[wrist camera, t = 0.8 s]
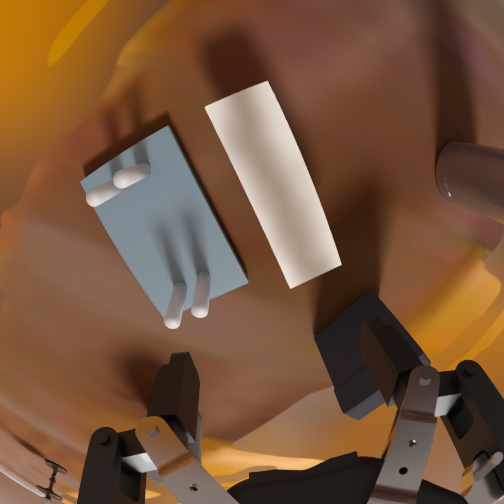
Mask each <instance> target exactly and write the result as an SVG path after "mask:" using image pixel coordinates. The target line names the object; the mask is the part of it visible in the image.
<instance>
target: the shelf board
mask: <svg viewBox="0 0 504 504" xmlns="http://www.w3.org/2000/svg"><path fill="white" fill-rule="evenodd" d="M205 109H206V111H207V113H208V115H209V117H210V119H211V121H212V123H213V125H214V127H215V130H216V132H217V134H218V136H219V138H220V140H221V142H222V144H223V146H224V148H225V150H226V152H227V154H228V156H229V158H230V160H231V162H232V164H233V167H234V169H235V171H236V173H237V175H238V177H239V179H240V181H241V183H242V185H243V187H244V190H245V192H246V194H247V196H248V198H249V200H250V202H251V204H252V207H253V209H254V211H255V213H256V215H257V217H258V219H259V221H260V224H261V226H262V228H263V230H264V232H265V234H266V236H267V239H268V241H269V243H270V245H271V247H272V249H273V252H274V254H275V256H276V258H277V260H278V263H279V265H280V267H281V269H282V271H283V274H284V276H285V278H286V280H287V282H288V285H289V287H290V289H291V288H293V287H295V286H297V285H299V284H302V283H304V282H306V281H308V280H310V279H312V278H315V277H317V276H319V275H321V274H323V273H325V272H327V271H330V270H332V269H334V268H336V267H338V266H340V265H342V264H341V261H340V258H339V255H338V252H337V249H336V246H335V243H334V240H333V237H332V234H331V231H330V228H329V225H328V222H327V220H326V217H325V214H324V211H323V209H322V206H321V203H320V201H319V198H318V195H317V193H316V190H315V187H314V185H313V182H312V180H311V177H310V175H309V172H308V170H307V167H306V165H305V162H304V160H303V157H302V155H301V153H300V150H299V148H298V146H297V143H296V141H295V139H294V136H293V134H292V132H291V130H290V127H289V125H288V123H287V121H286V118H285V116H284V114H283V112H282V110H281V108H280V105H279V103H278V101H277V99H276V97H275V95H274V93H273V91H272V89H271V87H270V85H269V83H268V81H266V82H263V83H260V84H258V85H255V86H252V87H250V88H247V89H245V90H242V91H240V92H237V93H235V94H233V95H230V96H228V97H226V98H223V99H221V100H219V101H217V102H215V103H212V104H210V105H208V106H206V107H205Z"/></svg>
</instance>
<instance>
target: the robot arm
mask: <svg viewBox="0 0 504 504" xmlns="http://www.w3.org/2000/svg"><path fill="white" fill-rule="evenodd" d="M436 179H437V184H438V188H439V190H440V192H441V193H442V195H443V196H444V197H445V198H446V199H447V200H449V201H452V202H454V203H457V204H459V205H461V206H464V207H466V208H468V209H471V210H473V211H475V212H477V213H480V214H482V215H484V216H486V217H489V218H491V219H493V220H495V221H497V222H499V223H501V224H503V225H504V149H500V148H495V147H489V146H484V145H478V144H473V143H466V142H459V141H452V142H449V143H447V144H446V145H445V146H444V147H443V148H442V150H441V152H440V154H439V156H438V160H437V165H436ZM360 352H361V355H362V358H363V360H364V361H365V363H366V365H367V367H368V369H369V371H370V373H371V375H372V377H373V379H374V381H375V383H376V384H377V386H378V388H379V390H380V392H381V394H382V396H383V398H384V400H385V402H386V404H387V406H388V407H389V406H391V405H394V404H396V406H397V408H398V409H397V412H396V415H395V418H394V421H393V425H392V427H391V430H390V433H389V436H388V439H387V442H386V444H385V447H384V449H383V451H382V454H381V456H380V458H374V457H363V456H361V457H358V455H357V452H356V451H355V452H352V453H348V454H345V455H341V456H338V457H334V458H330V459H328V460H326V461H324V462H322V463H320V464H318V465H316V466H314V467H311V468H309V469H307V470H278V469H275V470H268V471H260V472H251V473H249V479H246V480H244V481H241V482H239V483H237V484H236V485H234V486H232V487H231V488H230V489H228V490H227V491H225V490H224V489H223V488H222V487H221V485H220V484H219V483H217V481H216V480H215V479H214V478H213V477H212V476H211V475H210V474H209V473H208V472H207V471H206V470H205V469H204V468H203V466H202V465H201V464H200V463H199V462H198V461H197V460H196V459H195V457H194V456H193V455H192V454H191V453H190V452H189V451H188V450H187V446H188V443H196V428H197V414H198V401H199V389H200V381H199V376H198V373H197V370H196V368H195V365H194V363H193V360H192V358H191V356H190V353H189V352H180V353H172V355H171V359H170V363H169V364H167V365H163V366H162V367H161V369H160V370H159V371H158V373H157V376H156V380H155V384H154V388H153V389H154V391H153V392H152V397H151V401H150V405H149V410H148V414H147V417H146V418H144V419H142V420H141V421H140V422H139V423H138V425H137V426H136V428H135V429H132V430H128V431H124V432H119V433H117V432H116V431H115V430H114V429H113V428H110V427H102V428H99V429H97V430H96V431H95V432H94V433H93V434H92V436H91V439H90V443H89V447H88V451H87V456H86V460H85V464H84V469H83V474H82V479H81V484H80V489H79V495H78V500H77V504H145V488H146V475H147V471H152V470H156V469H158V471H159V472H158V474H159V475H160V477H161V478H162V480H163V481H164V483H165V484H166V485H167V487H168V488H169V489H170V491H171V492H172V493H173V495H174V496H175V497H176V498H177V500H178V501H179V502H180V503H181V504H495V503H496V502H498V501H500V500H501V499H503V498H504V399H503V398H502V396H501V395H500V393H499V392H498V390H497V389H496V387H495V386H494V384H493V383H492V382H491V380H490V379H489V377H488V376H487V374H486V373H485V372H484V370H483V369H482V368H481V366H480V365H479V364H478V363H476V362H475V361H472V360H464V361H462V362H460V363H459V364H458V365H457V367H456V370H451V371H444V372H438V371H437V370H436V369H435V368H433V367H431V366H428V365H424V364H423V363H422V362H421V360H420V359H419V358H418V356H417V355H416V353H415V352H414V351H413V349H412V348H411V346H410V345H409V344H408V342H407V341H406V340H405V338H403V336H402V334H401V333H400V332H399V330H398V329H396V328H395V327H393V326H391V325H390V324H389V325H386V326H385V325H384V324H383V322H382V321H381V320H380V318H379V317H375V318H371V319H367V320H364V321H362V325H361V336H360ZM436 416H440V417H441V419H442V421H443V423H444V425H445V427H446V429H447V431H448V433H449V435H450V437H451V440H452V442H453V444H454V446H455V448H456V450H457V452H458V455H459V457H460V459H461V461H462V464H463V466H464V468H465V470H464V472H463V473H462V476H461V488H462V491H461V495H460V494H458V493H456V492H453V491H450V490H448V489H445V488H443V487H440V486H438V485H436V484H433V483H431V482H429V481H426V480H424V479H422V477H423V474H424V471H425V468H426V464H427V461H428V457H429V454H430V450H431V446H432V441H433V437H434V432H435V428H436V423H437V417H436Z"/></svg>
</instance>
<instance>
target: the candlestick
mask: <svg viewBox="0 0 504 504" xmlns="http://www.w3.org/2000/svg"><path fill="white" fill-rule="evenodd" d="M46 464H47V465H48V466H49V467H51V468H52V469H53V475H52V474H51V476H52V477H51V478H50V479H49V480H50V481H51V482H50V485H49V488H43V487H41V486H39V485H36V488H37V489H38V490H40V491H41V492H43V493H45V494H46V497H44V498H45V502H44V504H49V503H50V501H51V497H53V498H55V499H57V500H60V501H62V499H63V498H62V497H60V496H59V495H57V494H55V493H54V492H53V490H52V488H53V484H54V483H56V481H55V478H57V477H56V473H57V472H60V473H63V474H67V471H66V470H65V469H64V468H63V467H61V466H60V465H58V464H56V463H54V462H51V461H46Z"/></svg>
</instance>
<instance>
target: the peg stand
mask: <svg viewBox="0 0 504 504" xmlns="http://www.w3.org/2000/svg"><path fill="white" fill-rule="evenodd" d="M81 184H82V186H83V188H84V190H85V192H86V194H87V195H86V200H87V203H88V204H89V205H90V206H92V207H94V209H95V211H96V213H97V215H98V216H99V218H100V220H101V222H102V224H103V225H104V227H105V229H106V231H107V232H108V234H109V236H110V237H111V239H112V241H113V242H114V244H115V246H116V247H117V249H118V251H119V252H120V254H121V256H122V257H123V259H124V260H125V262H126V263H127V265H128V267H129V268H130V270H131V271H132V273H133V274H134V276H135V277H136V279H137V280H138V282H139V283H140V285H141V286H142V288H143V289H144V291H145V292H146V294H147V295H148V297H149V298H150V299H151V301H152V302H153V304H154V305H155V307H156V308H157V309H158V311H159V312H160V314H161V315H162V316H163V318H164V319H165V320H164V323H165V325H166V326H167V327H168V328H171V329H175V328H178V327H179V325H180V321H181V316H182V312H183V311H184V310H187V309H189V308H191V307H192V310H191V311H192V314H193V315H194V316H195V317H198V318H203V317H205V316H206V315H207V314H208V306H209V300H210V299H212V298H215V297H217V296H219V295H222V294H224V293H226V292H229V291H231V290H233V289H235V288H238V287H240V286H242V285H245V284H247V283H249V281H248V276H247V274H246V273H245V271H244V269H243V267H242V265H241V263H240V261H239V259H238V257H237V255H236V254H235V252H234V250H233V248H232V246H231V244H230V242H229V240H228V238H227V236H226V234H225V232H224V231H223V229H222V227H221V225H220V223H219V221H218V219H217V217H216V215H215V213H214V211H213V209H212V207H211V205H210V203H209V201H208V200H207V198H206V196H205V194H204V192H203V190H202V188H201V186H200V184H199V182H198V180H197V178H196V176H195V174H194V172H193V170H192V168H191V166H190V164H189V162H188V160H187V158H186V156H185V154H184V152H183V150H182V148H181V146H180V144H179V142H178V140H177V138H176V136H175V134H174V132H173V130H172V128H171V126H166V127H164V128H163V129H161V130H159V131H157V132H155V133H154V134H152V135H150V136H148V137H147V138H145V139H143V140H142V141H140V142H138V143H137V144H135V145H133V146H132V147H130V148H129V149H127V150H126V151H124V152H122V153H121V154H119V155H118V156H116V157H115V158H113V159H112V160H110V161H109V162H107V163H106V164H104V165H103V166H101V167H100V168H98V169H97V170H96V171H94V172H93V173H91V174H90V175H89V176H87V177H86V178H85V179H83V180H82V181H81Z"/></svg>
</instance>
